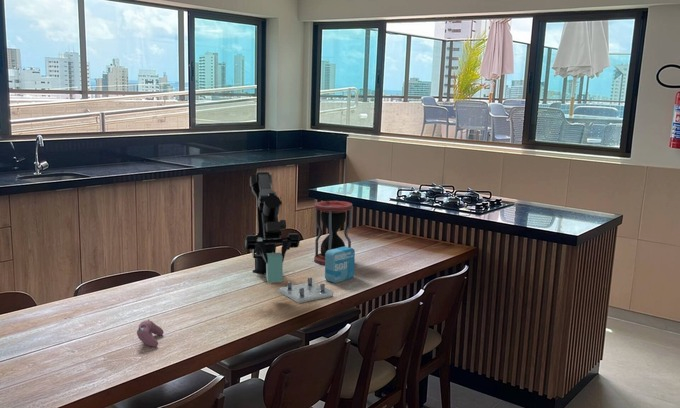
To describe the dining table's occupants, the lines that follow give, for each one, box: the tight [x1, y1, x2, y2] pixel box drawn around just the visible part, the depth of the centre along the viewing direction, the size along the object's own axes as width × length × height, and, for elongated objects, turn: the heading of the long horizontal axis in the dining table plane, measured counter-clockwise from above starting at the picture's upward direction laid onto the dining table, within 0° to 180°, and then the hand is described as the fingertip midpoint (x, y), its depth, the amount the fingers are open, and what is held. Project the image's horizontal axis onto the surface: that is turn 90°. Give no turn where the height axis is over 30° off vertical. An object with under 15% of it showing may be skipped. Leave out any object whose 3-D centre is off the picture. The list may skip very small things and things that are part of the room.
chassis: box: [278, 277, 334, 304], centre depth 217 cm, size 14×14×4 cm
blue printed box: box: [324, 245, 356, 284], centre depth 235 cm, size 12×4×12 cm, turn 136°
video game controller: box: [136, 319, 164, 348], centre depth 174 cm, size 10×5×7 cm, turn 6°
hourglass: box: [313, 200, 353, 266], centre depth 259 cm, size 16×16×25 cm
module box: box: [265, 252, 284, 283], centre depth 210 cm, size 5×5×9 cm
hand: (274, 262), depth 208 cm, fingers closed on module box, 5 cm apart
